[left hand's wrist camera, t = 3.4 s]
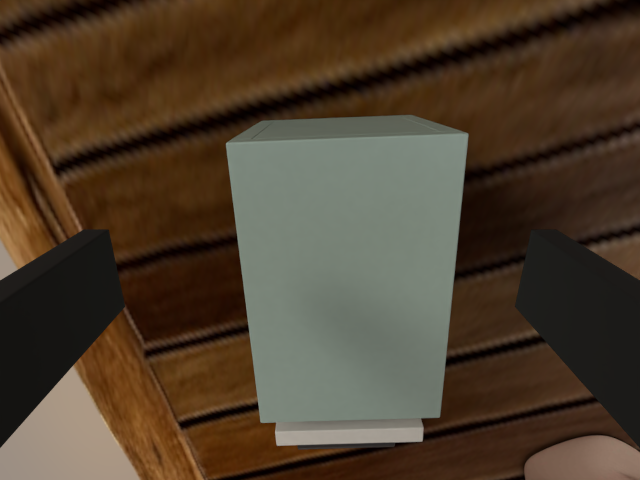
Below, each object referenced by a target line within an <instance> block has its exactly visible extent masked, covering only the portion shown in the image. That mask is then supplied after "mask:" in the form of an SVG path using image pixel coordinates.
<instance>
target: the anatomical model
mask: <svg viewBox="0 0 640 480" xmlns="http://www.w3.org/2000/svg"><path fill="white" fill-rule="evenodd" d="M524 474H525V479H526V480H640V452H639V451H637V450H636V449H634V448H633V447H631V446H629V445H628V444H626V443H624V442H622V441H620V440H618V439H615V438H612V437H609V436H603V435H590V436H584V437H579V438H575V439H571V440H568V441H565V442H562V443H559V444H556V445H554V446H551V447H549V448H546V449H544V450H542V451H540V452H538V453H536V454H534V455H533V456H531V457H530V458H529V459H528V460H527V462H526V463H525V467H524Z"/></svg>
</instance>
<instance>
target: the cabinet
mask: <svg viewBox="0 0 640 480" xmlns="http://www.w3.org/2000/svg"><path fill="white" fill-rule="evenodd" d="M467 145H468V133H465V132H462V131H459V130H456V129H453V128H450V127H447V126H444V125H441V124H438V123H435V122H432V121H429V120H425V119H422V118H419V117H416V116H413V115H396V116H371V117H346V118H321V119H296V120H270V121H261V122H259V123H258V124H256V125H254V126H253V127H251V128H249V129H248V130H246V131H244V132H243V133H241V134H239V135H238V136H236V137H235V138H233V139H231V140H230V141H229V142H227V143H226V149H227V157H228V165H229V173H230V181H231V189H232V197H233V205H234V213H235V221H236V229H237V237H238V245H239V253H240V261H241V269H242V277H243V285H244V293H245V301H246V309H247V317H248V325H249V333H250V341H251V349H252V357H253V365H254V373H255V381H256V389H257V397H258V405H259V413H260V421H261V423H272V422H307V421H341V420H376V419H411V418H439V417H440V412H441V402H442V392H443V382H444V373H445V363H446V353H447V343H448V333H449V323H450V313H451V303H452V293H453V283H454V273H455V263H456V254H457V244H458V234H459V224H460V214H461V204H462V194H463V184H464V174H465V164H466V154H467Z"/></svg>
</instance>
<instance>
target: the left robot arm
mask: <svg viewBox="0 0 640 480" xmlns="http://www.w3.org/2000/svg"><path fill="white" fill-rule="evenodd" d="M124 307H125V304H124V300H123V295H122V290H121V286H120V281H119V276H118V272H117V267H116V262H115V258H114V253H113V248H112V244H111V239H110V234H109V230H82V231H81V232H79V233H77V234H76V235H74V236H73V237H71V238H69V239H68V240H66V241H64V242H63V243H61V244H59V245H58V246H56V247H54V248H53V249H51V250H50V251H48V252H46V253H45V254H43V255H41V256H40V257H38V258H36V259H35V260H33V261H31V262H30V263H28V264H27V265H25V266H23V267H22V268H20V269H18V270H17V271H15V272H13V273H12V274H10V275H8V276H7V277H5V278H4V279H2V280H0V447H1V446H2V445H3V444H4V443H5V442H6V441H7V440H8V438H9V437H10V436H11V435H12V434H13V433H14V432H15V431H16V429H17V428H18V427H19V426H20V425H21V424H22V423H23V421H24V420H25V419H26V418H27V417H28V416H29V415H30V413H31V412H32V411H33V410H34V409H35V408H36V407H37V406H38V404H39V403H40V402H41V401H42V400H43V399H44V398H45V397H46V395H47V394H48V393H49V392H50V391H51V390H52V389H53V388H54V386H55V385H56V384H57V383H58V382H59V381H60V380H61V378H62V377H63V376H64V375H65V374H66V373H67V372H68V371H69V369H70V368H71V367H72V366H73V365H74V364H75V363H76V361H77V360H78V359H79V358H80V357H81V356H82V355H83V354H84V352H85V351H86V350H87V349H88V348H89V347H90V346H91V345H92V343H93V342H94V341H95V340H96V339H97V338H98V337H99V335H100V334H101V333H102V332H103V331H104V330H105V329H106V328H107V326H108V325H109V324H110V323H111V322H112V321H113V320H114V318H115V317H116V316H117V315H118V314H119V313H120V312H121V311H122V309H123V308H124ZM515 307H516V308H517V309H518V311H519V312H520V313H521V314H522V315H523V316H524V317H525V318H526V320H527V321H528V322H529V323H530V324H531V325H532V326H533V328H534V329H535V330H536V331H537V332H538V333H539V334H540V335H541V337H542V338H543V339H544V340H545V341H546V342H547V343H548V345H549V346H550V347H551V348H552V349H553V350H554V351H555V352H556V354H557V355H558V356H559V357H560V358H561V359H562V360H563V361H564V363H565V364H566V365H567V366H568V367H569V368H570V369H571V371H572V372H573V373H574V374H575V375H576V376H577V377H578V378H579V380H580V381H581V382H582V383H583V384H584V385H585V386H586V388H587V389H588V390H589V391H590V392H591V393H592V394H593V395H594V397H595V398H596V399H597V400H598V401H599V402H600V403H601V404H602V406H603V407H604V408H605V409H606V410H607V411H608V412H609V414H610V415H611V416H612V417H613V418H614V419H615V420H616V421H617V423H618V424H619V425H620V426H621V427H622V428H623V429H624V431H625V432H626V433H627V434H628V435H629V436H630V437H631V438H632V440H633V441H634V442H635V443H636V444H637V445H638V446H639V448H640V280H638V279H636V278H635V277H633V276H632V275H630V274H628V273H627V272H625V271H623V270H622V269H620V268H618V267H617V266H615V265H613V264H612V263H610V262H609V261H607V260H605V259H604V258H602V257H600V256H599V255H597V254H595V253H594V252H592V251H590V250H589V249H587V248H586V247H584V246H582V245H581V244H579V243H577V242H576V241H574V240H572V239H571V238H569V237H567V236H566V235H564V234H563V233H561V232H559V231H558V230H531V234H530V239H529V244H528V248H527V253H526V258H525V262H524V267H523V272H522V276H521V281H520V286H519V290H518V295H517V300H516V304H515Z"/></svg>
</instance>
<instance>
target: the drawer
mask: <svg viewBox="0 0 640 480" xmlns="http://www.w3.org/2000/svg"><path fill="white" fill-rule="evenodd" d="M423 429H424V427H423V424H422V421H421V418H411V419H376V420H341V421H307V422H276V430H275V434H276V444H277V446H282V445H298V449H332V448H368V447H394V446H395V442H422V441H423Z"/></svg>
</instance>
